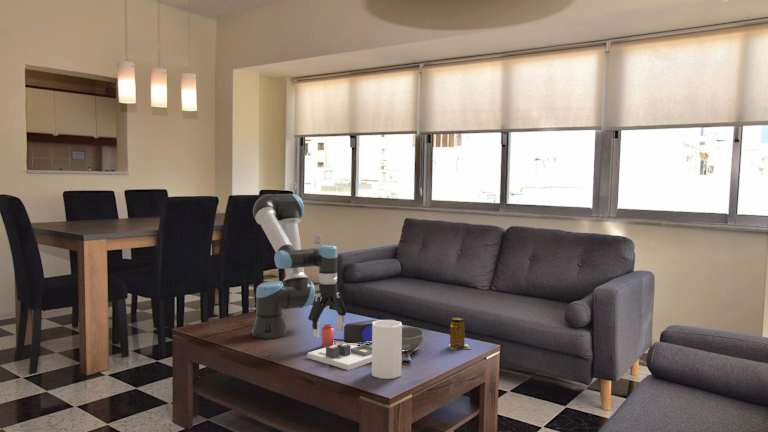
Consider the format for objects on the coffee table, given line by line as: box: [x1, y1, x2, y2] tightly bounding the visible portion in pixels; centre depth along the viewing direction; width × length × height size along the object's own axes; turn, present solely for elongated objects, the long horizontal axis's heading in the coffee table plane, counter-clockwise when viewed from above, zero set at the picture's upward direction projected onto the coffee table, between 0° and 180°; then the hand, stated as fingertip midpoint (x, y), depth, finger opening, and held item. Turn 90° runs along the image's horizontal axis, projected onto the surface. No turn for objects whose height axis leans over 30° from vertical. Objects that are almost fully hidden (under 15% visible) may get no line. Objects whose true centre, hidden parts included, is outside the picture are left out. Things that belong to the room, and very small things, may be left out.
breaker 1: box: [326, 346, 339, 358], centre depth 216 cm, size 4×3×4 cm
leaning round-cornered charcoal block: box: [343, 319, 377, 343], centre depth 241 cm, size 16×5×9 cm, turn 124°
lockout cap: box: [321, 323, 335, 349], centre depth 236 cm, size 5×5×9 cm
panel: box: [306, 341, 372, 371], centre depth 222 cm, size 22×20×4 cm
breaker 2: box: [338, 344, 350, 356], centre depth 219 cm, size 4×3×4 cm
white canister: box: [371, 319, 403, 380], centre depth 203 cm, size 11×11×18 cm
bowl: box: [402, 326, 425, 352], centre depth 233 cm, size 18×18×8 cm
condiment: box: [448, 317, 471, 350], centre depth 238 cm, size 7×8×12 cm
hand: (328, 333), depth 236 cm, fingers open, 13 cm apart
